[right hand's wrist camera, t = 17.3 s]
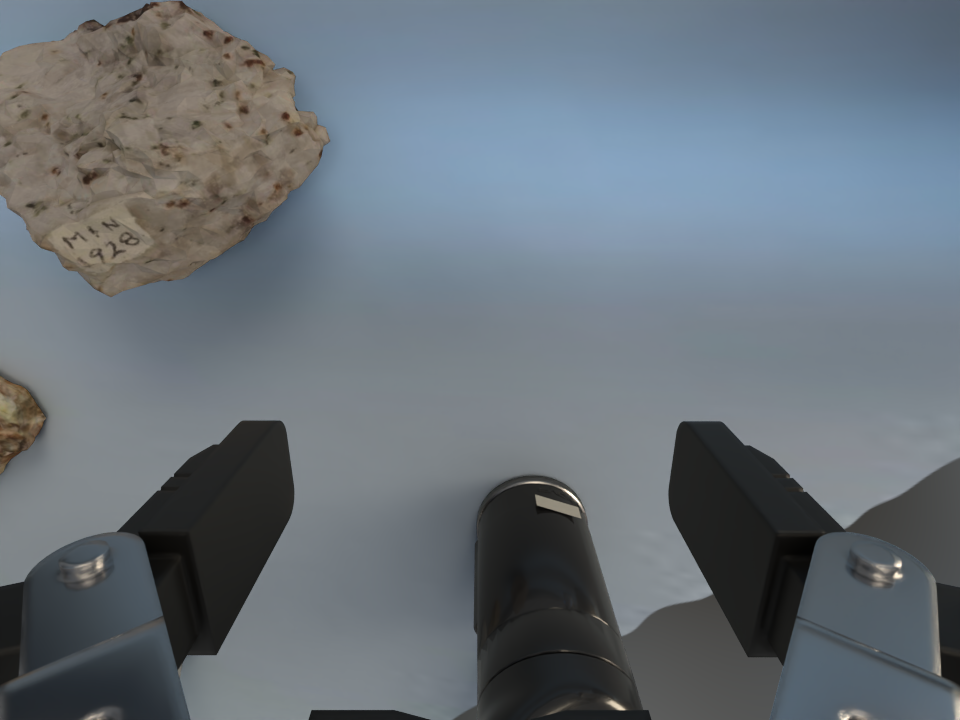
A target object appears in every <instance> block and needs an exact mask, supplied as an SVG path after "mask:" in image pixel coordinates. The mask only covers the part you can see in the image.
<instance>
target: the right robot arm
mask: <svg viewBox="0 0 960 720" xmlns="http://www.w3.org/2000/svg"><path fill="white" fill-rule="evenodd" d="M293 504H294V483H293V476H292V469H291V461H290V454H289V447H288V440H287V433H286V428H285V426H284V424H283V422H282V421H241V422H240V423H239V424H238V425H237V426H236V427H235V428H234V429H233V430H232V431H231V432H230V433H229V434H228V435H227V437H226V438H225V439H224V440H223V441H222V442H221V443H220V444H219V445H212V446H210V447H208V448H207V449H205V450H203V451H201V452H200V453H198V454H196V455H194V456H193V457H191V458H189V459H188V460H187V461H186V462H185V463H184V464H183V465H182V466H181V467H180V468H179V470H178V471H177V472H176V473H175V474H174V477H171V478H170V479H169V480H168V481H167V482H166V483H165V484H164V485H163V486H162V487H161V491H157V492H156V493H155V494H154V495H153V496H152V497H151V498H150V499H149V500H148V501H147V502H146V503H145V504H144V505H143V506H142V507H141V508H140V509H139V510H138V511H137V512H136V513H135V514H134V515H133V516H132V517H131V518H130V519H129V520H128V521H127V522H126V523H125V524H124V525H123V526H122V527H121V528H120V529H119V530H118V531H117V532H110V533H103V534H98V535H94V536H90V537H87V538H83V539H81V540H78V541H75V542H73V543H71V544H68V545H66V546H64V547H62V548H60V549H58V550H57V551H55V552H53V553H52V554H50V555H49V556H47V557H46V558H44V559H43V560H42V561H40V562H39V563H38V564H37V565H36V566H35V567H34V568H33V569H32V570H31V571H30V573H29V574H28V575H27V577H26V579H25V582H21V583H16V584H11V585H6V586H1V587H0V720H190V716H189V712H188V709H187V705H186V701H185V697H184V693H183V689H182V686H181V682H180V678H179V674H178V669H179V668H180V666H181V664H182V663H183V661H184V659H185V658H186V656H187V655H217V653H218V651H219V649H220V647H221V645H222V644H223V642H224V640H225V638H226V636H227V634H228V632H229V631H230V629H231V627H232V625H233V623H234V621H235V619H236V618H237V616H238V614H239V612H240V610H241V608H242V606H243V605H244V603H245V601H246V599H247V597H248V595H249V593H250V592H251V590H252V588H253V586H254V584H255V582H256V580H257V578H258V577H259V575H260V573H261V571H262V569H263V567H264V565H265V564H266V562H267V560H268V558H269V556H270V554H271V552H272V551H273V549H274V547H275V545H276V543H277V541H278V539H279V538H280V536H281V534H282V532H283V530H284V528H285V526H286V525H287V523H288V521H289V519H290V516H291V513H292V510H293ZM669 506H670V511H671V515H672V518H673V520H674V522H675V524H676V526H677V528H678V529H679V531H680V533H681V535H682V537H683V539H684V540H685V542H686V544H687V546H688V548H689V550H690V551H691V553H692V555H693V557H694V559H695V561H696V562H697V564H698V566H699V568H700V570H701V572H702V573H703V575H704V577H705V579H706V581H707V583H708V585H709V586H710V588H711V590H712V592H713V594H714V595H715V597H716V599H717V601H718V603H719V605H720V607H721V608H722V610H723V612H724V614H725V616H726V618H727V619H728V621H729V623H730V625H731V627H732V629H733V630H734V632H735V634H736V636H737V638H738V640H739V641H740V643H741V645H742V647H743V649H744V651H745V653H746V654H747V656H748V657H778V658H779V660H780V662H781V663H782V665H783V670H782V674H781V678H780V682H779V686H778V689H777V694H776V697H775V701H774V705H773V709H772V712H771V716H770V720H960V587H955V586H950V585H945V584H940V583H936V582H935V579H934V577H933V576H932V574H931V573H930V571H929V570H928V569H927V568H926V567H925V566H924V565H923V564H922V563H921V562H920V561H918V560H917V559H916V558H914V557H913V556H911V555H910V554H908V553H907V552H905V551H903V550H902V549H900V548H898V547H896V546H894V545H892V544H889V543H887V542H885V541H882V540H879V539H877V538H873V537H870V536H866V535H862V534H857V533H850V532H846V531H845V530H844V529H843V528H842V527H841V526H840V525H839V524H838V523H837V522H836V521H835V520H834V519H833V518H832V517H831V516H830V515H829V514H828V513H827V512H826V511H825V510H824V509H823V508H822V507H821V506H820V505H819V504H818V503H817V502H816V501H815V500H814V499H813V498H812V497H811V496H810V495H809V494H808V493H807V492H803V488H802V487H801V486H800V485H799V484H798V483H797V482H796V481H795V480H794V479H793V478H790V475H789V474H788V473H787V472H786V471H785V470H784V469H783V468H782V467H781V466H780V465H779V464H778V463H777V462H776V461H775V460H774V459H773V458H771V457H769V456H768V455H766V454H764V453H762V452H760V451H759V450H757V449H755V448H753V447H752V446H745V445H744V444H743V443H742V442H741V441H740V440H739V439H738V438H737V437H736V436H735V435H734V434H733V433H732V432H731V431H730V430H729V428H728V427H727V426H726V425H725V424H724V423H723V422H719V421H683V422H681V423H680V425H679V427H678V429H677V434H676V440H675V447H674V455H673V462H672V469H671V476H670V483H669ZM477 537H478V540H477V542H476V543H475V571H474V630H475V632H476V634H477V671H478V677H477V720H651V717H650V714H649V711H648V710H643V708H642V704H641V701H640V698H639V695H638V691H637V687H636V684H635V681H634V677H633V674H632V671H631V667H630V664H629V661H628V657H627V654H626V651H625V648H624V645H623V641H622V638H621V634H620V631H619V628H618V624H617V621H616V618H615V614H614V611H613V608H612V604H611V601H610V598H609V594H608V591H607V588H606V584H605V581H604V578H603V574H602V571H601V568H600V564H599V561H598V558H597V554H596V551H595V548H594V544H593V541H592V537H591V534H590V531H589V528H588V521H587V517H586V513H585V510H584V507H583V504H582V502H581V500H580V499H579V497H578V496H577V495H576V493H575V492H574V491H573V490H571V489H570V488H569V487H568V486H566V485H565V484H563V483H561V482H559V481H557V480H554V479H552V478H548V477H543V476H523V477H518V478H515V479H511V480H509V481H507V482H504V483H502V484H501V485H499V486H498V487H496V488H495V489H494V490H492V491H491V492H490V493H489V494H488V495H487V497H486V498H485V499H484V501H483V502H482V504H481V506H480V509H479V512H478V516H477ZM309 720H429V719H425V718H422V717H418V716H414V715H410V714H407V713H403V712H399V711H395V710H312V711H311V714H310V717H309Z"/></svg>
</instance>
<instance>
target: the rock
mask: <svg viewBox="0 0 960 720" xmlns="http://www.w3.org/2000/svg"><path fill="white" fill-rule="evenodd" d="M274 66H275V64H274V63H273V62H272V61H271V60H270V58H269V57H268V56H266V55H264V54H262V53H260V52H258V51H256V50H255V49H254V48H253V47H252V46H251V45H250V44H249V43H248V42H247V41H244V40H241V39H238V38H236V37H234V36H232V35H230V34H229V33H227V32H224V31H223V30H222V29H220V28H219V27H218V26H217V25H216V24H215V23H214V22H213V21H211V20H209V19H208V18H206V17H205V16H204V15H203V14H202V13H200V12H197V11H195V10H193V9H191V8H189V7H188V6H186V5H185V4H184V3H183V2H182V1H167V2H150V5H149V4H147V3H146V4H145V6H144V7H143V8H141V9H139V10H136V11H134V12H132V13H129V14H127V15H125V16H123V17H121V18H118V19H115V20H112V21H110V22H109V23H108V24H107V25H106V26H103V25H101V24H100V23H98V22H97V21H95V20H90V21H86V22H84V23H83V24H81V25H79V27H78V30H75V31H74V32H72V33H70V34H69V35H68V36H67V37H66V38H65V39H63V40H61V41H51V42H43V43H34V44H28V45H23V46H19V47H16V48H14V49H11V50H9V51H6V52H4V53H3V54H2V55H1V57H0V195H1V196H3V197H4V198H5V199H6V202H7V208H9V209H10V210H12V211H13V212H14V213H16V214H17V215H19V216H20V217H22V218H23V220H24V222H25V223H26V229H27V230H28V231H29V233H30V235H31V238H32V240H33V241H34V242H35V243H36V244H37V245H38V246H39V247H41V248H42V249H45V250H49V251H52V252H55V253H56V255H57V257H58V258H59V260H60V262H61V264H62V266H63V267H64V268H66V269H67V270H69V271H77V272H78V273H79V274H80V275H81V276H82V277H83V278H84V279H85V280H86V281H87V282H88V283H89V284H90V285H91V286H92V287H93V288H94V289H96V290H98V291H100V292H102V293H104V294H106V295H108V296H110V297H112V296H114V295H116V294H118V293H120V292H122V291H125V290H128V289H131V288H135V287H138V286H142V285H145V284H148V283H154V282H158V281H161V280H164V281H172V280H179V279H184V278H186V277H188V276H189V275H190V274H191V273H193V272H194V271H195V270H196V269H198V268H200V267H201V266H203V265H204V264H205V263H207V262H208V261H209V260H211V259H215V258H216V257H218V256H219V255H221V254H222V253H224V252H225V251H226V250H228V249H229V248H231V247H232V246H234V245H236V244H237V243H239V242H241V241H243V240H244V239H245V238H246V237H247V236H248V234H249V233H250V231H251V228H253V226H255V225H256V224H258V223H261V222H264V221H266V220H267V219H268V217H269V216H270V214H271V213H272V211H273V210H275V209H276V208H277V207H278V206H280V205H281V204H282V202H284V201H285V200H286V199H287V195H288V194H289V193H290V191H292V190H294V189H297V188H299V187H300V186H301V185H302V183H303V182H304V181H305V180H306V179H307V177H308V176H309V175H310V174H311V172H312V171H313V170H314V169H315V168H316V166H317V165H318V163H319V161H320V158H321V156H322V151H323V146H324V145H326V144H327V143H329V142H330V139H329V136H328V133H327V130H326V128H325V127H323V126H320V125H317V116H316V115H315V114H314V112H305V111H298V110H297V109H296V107H295V102H294V100H293V97H294V96H295V91H294V83H295V77H296V76H295V75H294V73H293V72H292V71H290V70H288V69H286V68H280V69H276V70H273V68H274Z"/></svg>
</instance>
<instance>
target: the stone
mask: <svg viewBox="0 0 960 720" xmlns="http://www.w3.org/2000/svg"><path fill="white" fill-rule="evenodd" d="M45 419H46V417H45V416H44V414H43V413H42V411H41V410H40V408H39V407H38V405H37V404H36V402H35V401H34V399H33V398H32V396H31V395H30V393H29V392H28V390H26V389H25V388H23V387H22V386H20V385H16V384H13V383H11V382H9V381H7V380H5V379H4V378H2V377H1V376H0V474H1V473H2V472H3V471H4V469H5V466H6V464H7V463H8V462H9V461H10V460H11V459H12V458H13V457H15V456H16V455H17V454H19V453H20V452H21V451H25V450H27V449H28V448H29V447H30V446H31V445H32V444H33V442H34V441H35V437H36V436H37V435H38V434H39V432H40V430H41V428H42V426H43V422H44V420H45Z"/></svg>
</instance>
